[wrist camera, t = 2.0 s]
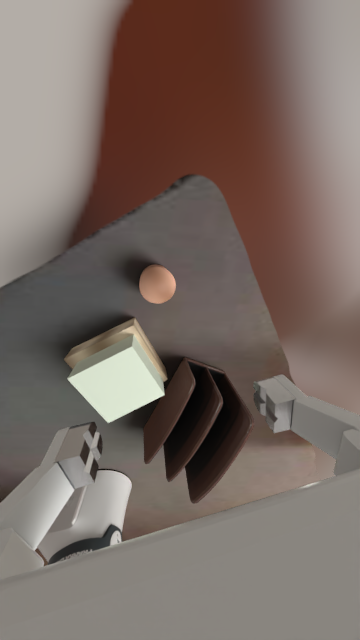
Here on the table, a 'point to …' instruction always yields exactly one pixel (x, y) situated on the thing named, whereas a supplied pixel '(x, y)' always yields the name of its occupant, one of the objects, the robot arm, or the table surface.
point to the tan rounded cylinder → (157, 284)
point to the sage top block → (118, 379)
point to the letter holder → (198, 426)
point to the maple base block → (112, 338)
